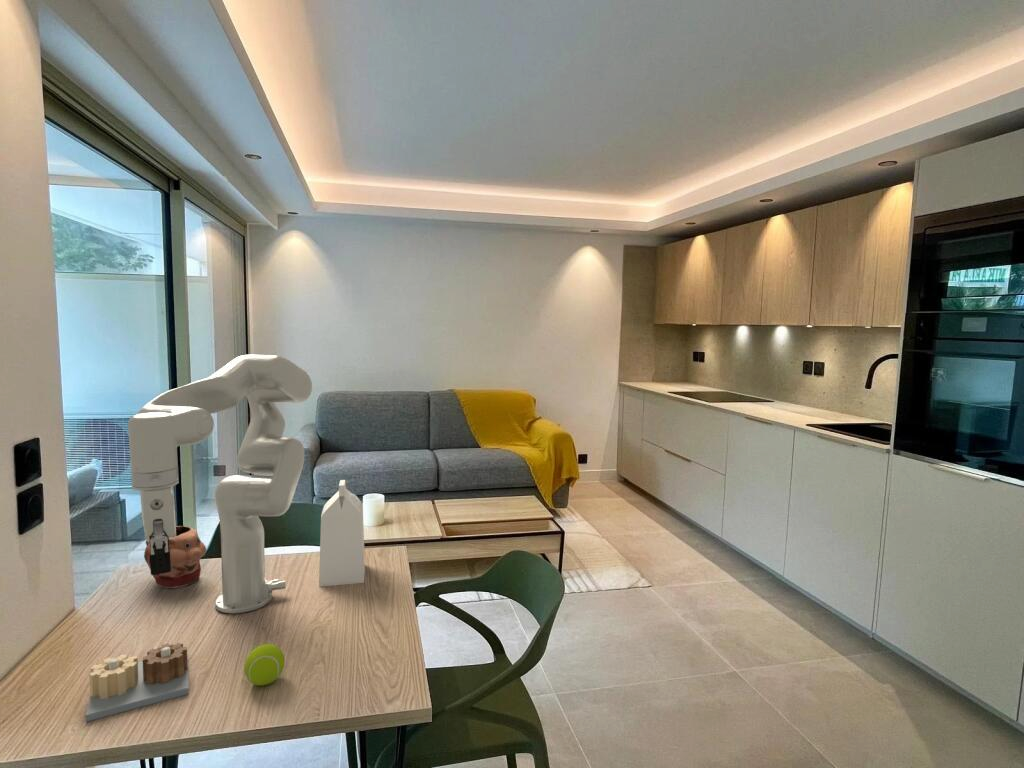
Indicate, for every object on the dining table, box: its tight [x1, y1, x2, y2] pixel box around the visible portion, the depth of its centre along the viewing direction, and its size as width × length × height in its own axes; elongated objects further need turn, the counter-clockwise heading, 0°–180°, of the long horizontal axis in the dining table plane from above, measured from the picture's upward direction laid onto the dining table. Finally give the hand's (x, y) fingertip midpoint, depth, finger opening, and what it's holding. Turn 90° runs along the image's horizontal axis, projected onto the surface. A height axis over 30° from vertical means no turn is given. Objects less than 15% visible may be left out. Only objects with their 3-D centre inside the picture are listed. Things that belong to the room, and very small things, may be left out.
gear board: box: [85, 647, 190, 723], centre depth 104 cm, size 15×14×6 cm
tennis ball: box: [243, 643, 286, 686], centre depth 105 cm, size 7×7×7 cm
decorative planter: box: [143, 525, 207, 589], centre depth 148 cm, size 20×12×14 cm, turn 73°
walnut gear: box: [142, 642, 189, 685], centre depth 106 cm, size 7×7×4 cm
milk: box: [318, 479, 366, 587], centre depth 152 cm, size 12×12×26 cm
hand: (160, 563), depth 108 cm, fingers open, 9 cm apart
